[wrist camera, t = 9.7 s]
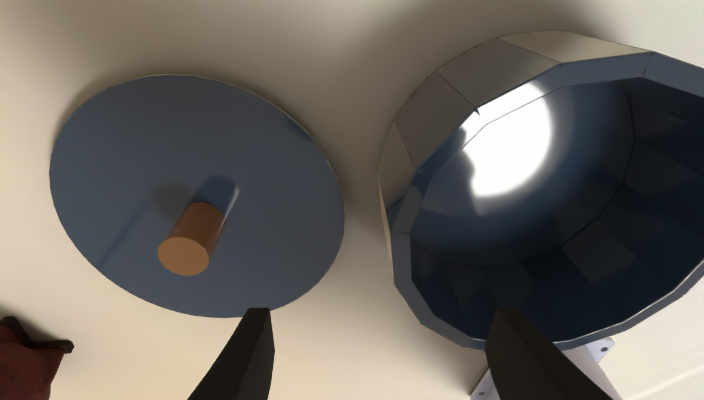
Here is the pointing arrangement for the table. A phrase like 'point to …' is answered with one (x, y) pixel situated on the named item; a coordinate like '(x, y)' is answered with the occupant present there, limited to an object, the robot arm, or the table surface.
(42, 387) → the mate gourd
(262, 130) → the lid
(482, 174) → the pot
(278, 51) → the table surface
